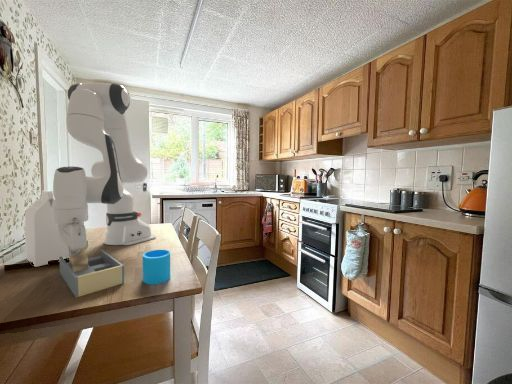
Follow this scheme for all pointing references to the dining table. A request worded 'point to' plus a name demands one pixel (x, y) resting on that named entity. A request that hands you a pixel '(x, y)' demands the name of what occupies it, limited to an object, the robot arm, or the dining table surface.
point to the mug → (156, 266)
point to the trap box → (93, 274)
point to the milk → (43, 232)
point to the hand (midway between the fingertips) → (73, 257)
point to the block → (78, 262)
